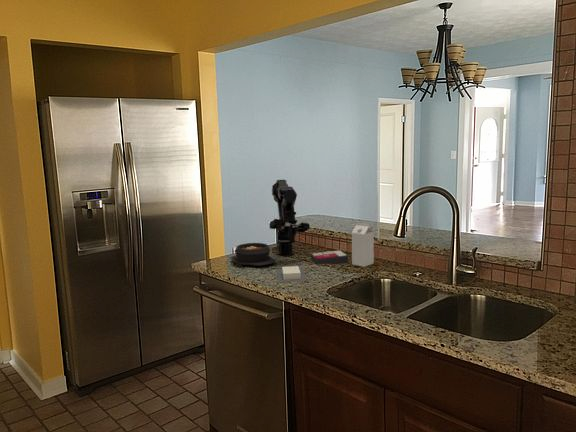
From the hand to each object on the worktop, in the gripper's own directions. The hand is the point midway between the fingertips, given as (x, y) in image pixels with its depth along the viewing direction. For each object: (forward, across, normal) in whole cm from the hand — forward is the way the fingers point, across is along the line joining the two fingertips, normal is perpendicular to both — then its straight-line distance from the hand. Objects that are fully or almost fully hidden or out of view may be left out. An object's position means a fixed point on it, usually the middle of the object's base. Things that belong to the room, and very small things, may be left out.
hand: (291, 243), depth 218 cm
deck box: (+14, +5, +4) cm, 15 cm away
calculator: (+7, -21, -2) cm, 22 cm away
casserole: (+4, +10, -20) cm, 23 cm away
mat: (+17, +6, +6) cm, 19 cm away
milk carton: (+12, -30, +11) cm, 34 cm away
